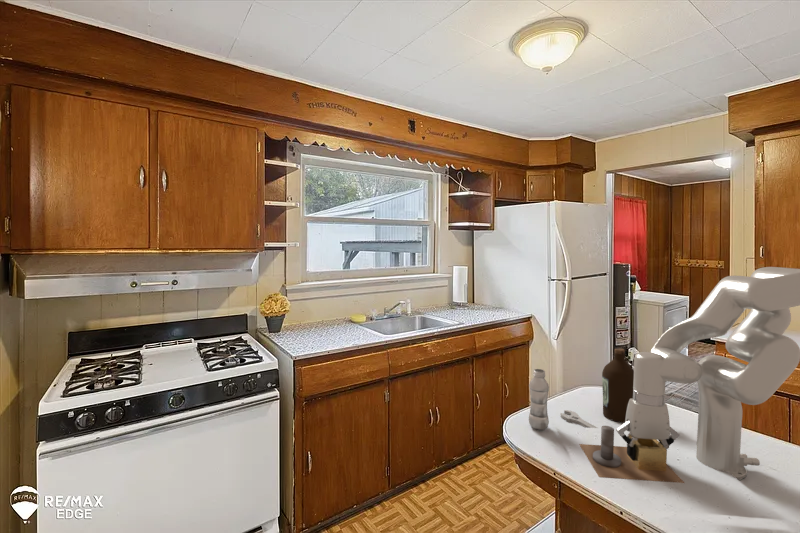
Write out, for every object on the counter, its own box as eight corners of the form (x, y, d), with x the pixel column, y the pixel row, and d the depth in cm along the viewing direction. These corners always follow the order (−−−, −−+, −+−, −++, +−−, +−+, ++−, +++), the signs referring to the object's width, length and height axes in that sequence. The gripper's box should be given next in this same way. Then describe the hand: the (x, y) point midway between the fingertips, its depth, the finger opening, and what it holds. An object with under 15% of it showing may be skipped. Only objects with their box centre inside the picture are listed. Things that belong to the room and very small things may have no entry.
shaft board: (652, 453, 119) (653, 417, 118) (684, 488, 102) (686, 447, 101) (578, 448, 122) (579, 414, 121) (598, 482, 105) (600, 442, 104)
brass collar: (653, 457, 114) (654, 437, 114) (666, 471, 107) (666, 449, 107) (627, 455, 115) (628, 435, 115) (638, 469, 108) (639, 448, 108)
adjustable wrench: (627, 447, 123) (628, 442, 123) (611, 451, 121) (611, 445, 121) (570, 413, 147) (570, 409, 147) (556, 416, 145) (556, 411, 145)
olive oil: (631, 412, 146) (633, 346, 145) (637, 425, 136) (639, 354, 135) (599, 408, 150) (601, 344, 148) (603, 421, 140) (605, 351, 138)
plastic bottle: (536, 433, 131) (537, 375, 130) (524, 424, 138) (525, 368, 136) (552, 430, 133) (554, 373, 132) (540, 422, 140) (541, 366, 138)
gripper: (674, 393, 112) (672, 453, 114) (610, 390, 115) (608, 449, 116) (690, 404, 105) (687, 468, 106) (620, 401, 107) (618, 464, 109)
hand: (646, 458), depth 111 cm, fingers closed on brass collar, 7 cm apart
